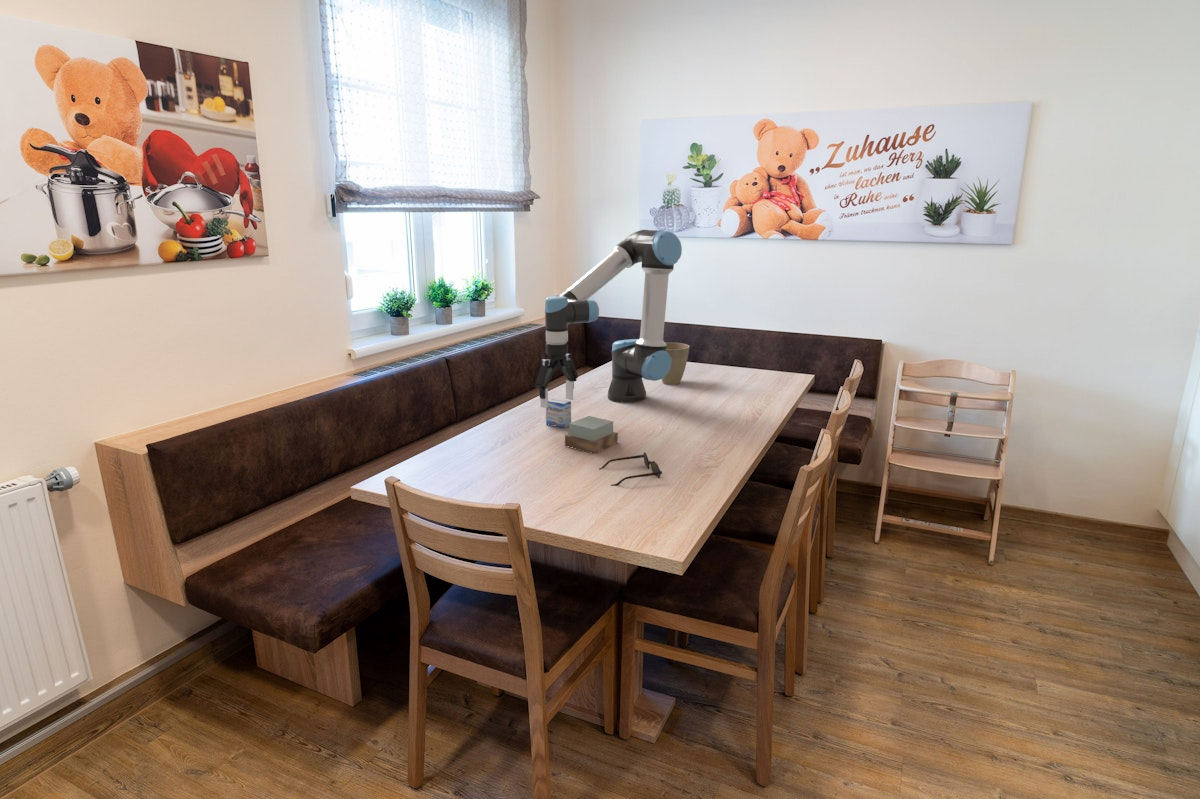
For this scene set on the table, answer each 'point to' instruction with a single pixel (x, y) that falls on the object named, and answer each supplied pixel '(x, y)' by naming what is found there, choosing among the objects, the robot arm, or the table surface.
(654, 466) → the eyeglasses
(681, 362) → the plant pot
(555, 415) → the medicine box
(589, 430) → the sage slab
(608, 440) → the walnut slab
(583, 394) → the table surface
